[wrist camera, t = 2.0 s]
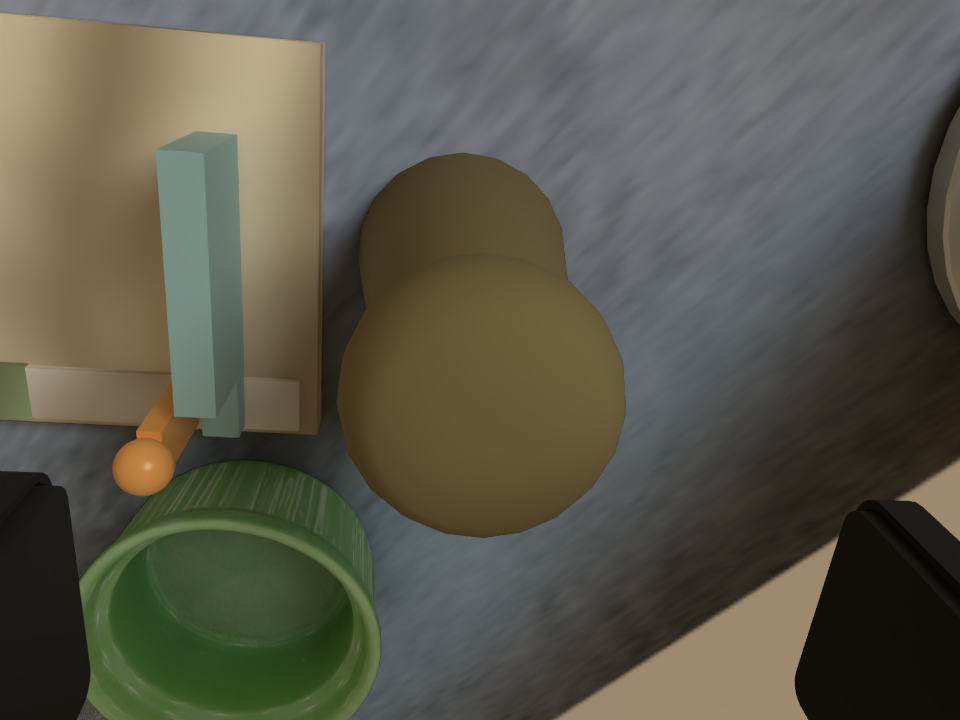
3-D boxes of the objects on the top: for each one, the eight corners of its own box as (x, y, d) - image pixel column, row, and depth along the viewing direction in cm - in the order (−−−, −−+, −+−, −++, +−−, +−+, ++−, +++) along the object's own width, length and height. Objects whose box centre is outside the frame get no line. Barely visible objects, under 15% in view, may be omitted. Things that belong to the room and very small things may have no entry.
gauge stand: (325, 43, 20) (287, 48, 15) (321, 419, 24) (289, 533, 19) (-149, -2, 19) (-380, -14, 14) (-67, 400, 23) (-219, 514, 18)
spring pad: (237, 134, 20) (203, 153, 17) (246, 422, 23) (218, 481, 20) (196, 130, 20) (155, 149, 17) (210, 421, 23) (179, 479, 20)
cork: (571, 154, 22) (696, 263, 12) (557, 354, 24) (651, 589, 14) (353, 150, 21) (286, 260, 11) (361, 354, 24) (311, 596, 14)
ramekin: (192, 686, 29) (153, 794, 25) (66, 489, 25) (-4, 578, 21) (423, 617, 28) (422, 717, 24) (328, 405, 24) (309, 481, 20)
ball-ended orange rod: (211, 379, 22) (163, 457, 18) (213, 422, 23) (166, 508, 19) (160, 376, 22) (100, 455, 18) (163, 420, 22) (106, 506, 18)
